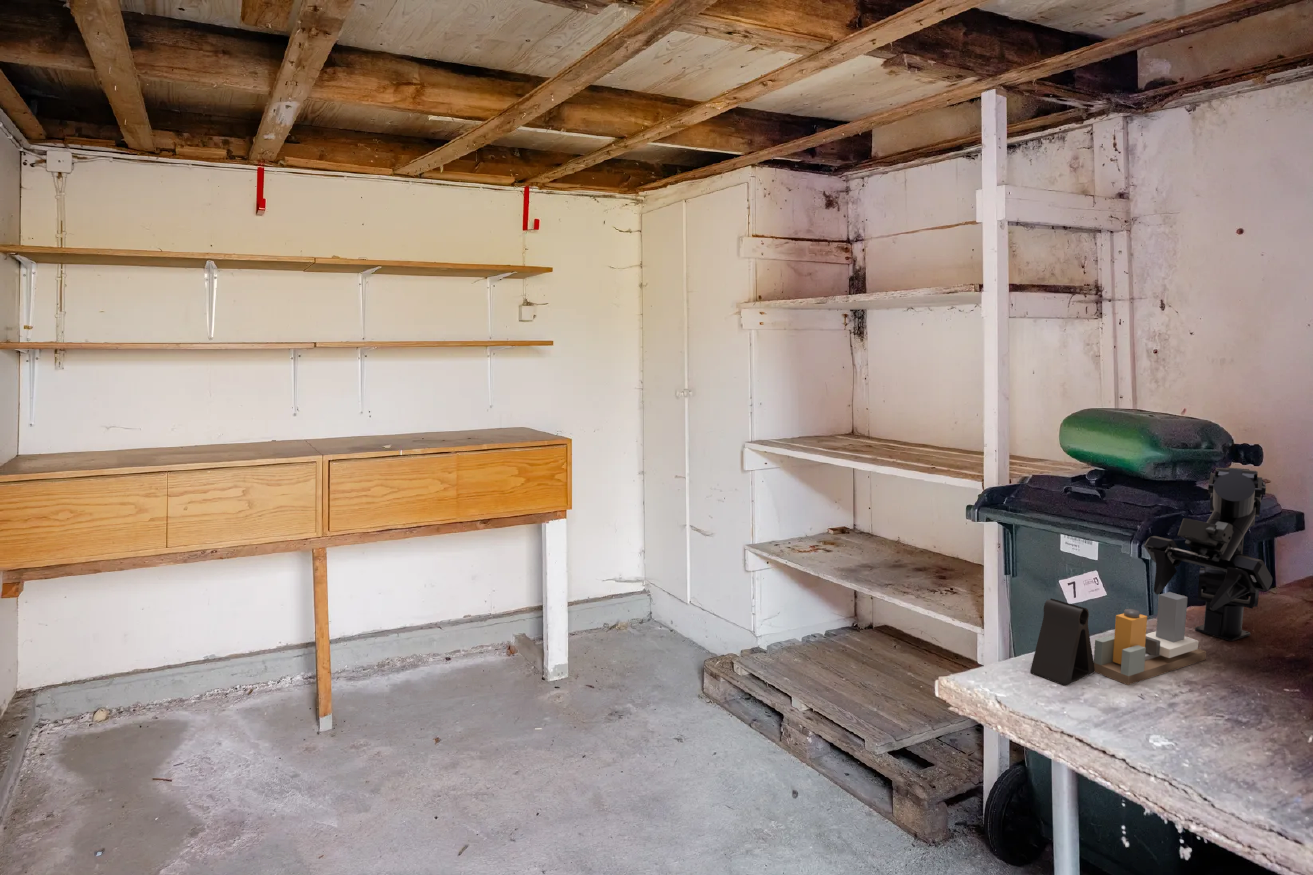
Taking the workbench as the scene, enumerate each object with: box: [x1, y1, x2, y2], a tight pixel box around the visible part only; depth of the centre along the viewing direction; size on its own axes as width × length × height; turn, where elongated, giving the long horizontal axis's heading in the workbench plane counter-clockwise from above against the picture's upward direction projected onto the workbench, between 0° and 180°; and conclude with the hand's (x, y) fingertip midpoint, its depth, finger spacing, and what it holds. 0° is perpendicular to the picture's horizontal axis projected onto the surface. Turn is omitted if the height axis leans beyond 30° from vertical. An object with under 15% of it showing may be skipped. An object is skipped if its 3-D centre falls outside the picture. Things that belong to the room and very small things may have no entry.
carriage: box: [1145, 591, 1199, 658], centre depth 138 cm, size 9×6×9 cm, turn 116°
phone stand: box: [1029, 598, 1095, 686], centre depth 134 cm, size 9×6×12 cm, turn 123°
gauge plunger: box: [1113, 608, 1148, 664], centre depth 133 cm, size 4×3×9 cm
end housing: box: [1093, 635, 1146, 676], centre depth 133 cm, size 4×6×4 cm, turn 26°
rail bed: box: [1094, 648, 1207, 686], centre depth 137 cm, size 21×6×2 cm, turn 116°
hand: (1182, 600), depth 139 cm, fingers open, 9 cm apart
